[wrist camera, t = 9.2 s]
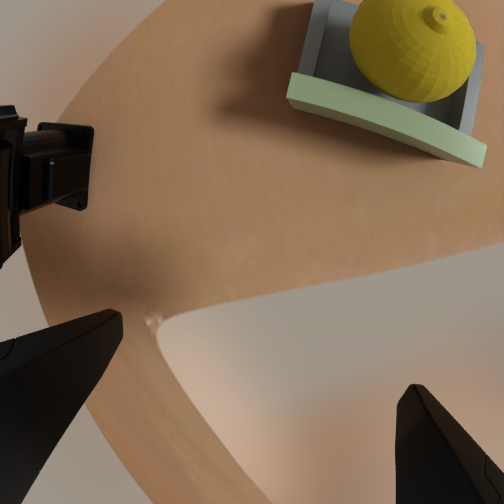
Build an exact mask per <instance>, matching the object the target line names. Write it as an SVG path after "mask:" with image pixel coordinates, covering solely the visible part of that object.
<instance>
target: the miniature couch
mask: <svg viewBox="0 0 504 504" xmlns="http://www.w3.org/2000/svg"><path fill="white" fill-rule="evenodd" d="M358 7H359V5H355V4H352V3H348V2H344V1H341V0H315V1H314V5H313V9H312V13H311V17H310V21H309V25H308V29H307V34H306V38H305V42H304V46H303V50H302V54H301V58H300V62H299V66H298V70H297V73H294V72H292V75H291V79H290V83H289V87H288V91H287V95H286V98H287V100H288V101H289V103H290V104H291V106H292V107H293V109H296V110H300V111H304V112H308V113H312V114H316V115H319V116H323V117H326V118H330V119H333V120H337V121H340V122H343V123H347V124H350V125H353V126H356V127H359V128H362V129H365V130H368V131H371V132H374V133H377V134H380V135H382V136H385V137H388V138H391V139H393V140H396V141H399V142H401V143H404V144H406V145H409V146H411V147H414V148H416V149H419V150H421V151H424V152H426V153H428V154H431V155H433V156H435V157H438V158H440V159H442V160H446V161H451V162H455V163H459V164H464V165H468V166H472V167H476V168H480V169H481V168H482V164H483V161H484V157H485V153H486V148H487V145H485V144H483V143H481V142H480V141H478V140H476V139H474V138H472V137H471V133H472V128H473V124H474V119H475V114H476V108H477V103H478V97H479V91H480V84H481V77H482V69H483V59H484V48H485V46H484V45H482V44H480V43H478V42H477V41H476V58H475V62H474V66H473V69H472V72H471V73H470V75H469V76H468V78H467V79H466V81H465V82H464V84H463V85H462V86H461V87H460V88H458V89H457V90H456V91H454V92H453V93H452V94H450V95H449V96H447V97H445V98H442V99H439V100H436V101H433V102H425V103H411V102H407V101H402V100H397V99H395V98H393V97H391V96H388V95H386V94H384V93H383V92H381V91H380V90H379V89H377V88H376V87H374V86H373V85H372V84H371V83H370V82H369V81H368V80H367V79H366V78H365V77H364V76H363V75H362V73H361V71H360V70H359V68H358V66H357V65H356V63H355V61H354V58H353V55H352V52H351V49H350V37H349V32H350V27H351V23H352V18H353V16H354V14H355V12H356V11H357V9H358Z"/></svg>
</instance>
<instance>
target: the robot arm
mask: <svg viewBox="0 0 504 504" xmlns="http://www.w3.org/2000/svg"><path fill="white" fill-rule="evenodd" d="M26 126H27V118H23V117H19V115H17V113H16V110H15V107H14V105H3V106H0V269H1V268H2V266H3V263H4V262H5V261H6V260H7V259H8V258H9V257H10V256H11V255H12V254H13V253H14V252H15V251H16V250H17V249H18V248H19V247H20V246H21V237H20V225H19V216H21V215H23V214H26V213H28V212H31V211H34V210H36V209H39V208H41V207H44V206H47V205H50V204H52V203H56V204H59V205H62V206H65V207H69V208H72V209H75V210H78V211H82V210H84V209H86V208H87V201H88V185H89V173H90V163H91V153H92V145H93V137H94V129H93V127H91V126H85V125H74V124H63V123H50V122H41V123H39V125H38V128H37V131H33V132H25V133H24V131H25V127H26ZM42 127H43V129H42ZM87 130H88V135H87ZM80 202H81V203H82V206H81V203H80ZM122 338H123V321H122V314H121V313H120V312H119V311H116V310H113V309H106V310H103V311H99V312H96V313H93V314H90V315H87V316H84V317H81V318H77V319H74V320H71V321H68V322H65V323H62V324H58V325H55V326H52V327H49V328H46V329H42V330H39V331H36V332H33V333H30V334H26V335H23V336H20V337H17V338H16V339H14V338H13V339H10V340H7V341H4V342H0V504H21V503H22V501H23V500H24V498H25V496H26V494H27V493H28V491H29V489H30V488H31V486H32V484H33V483H34V481H35V479H36V478H37V476H38V474H39V473H40V472H39V471H41V469H42V467H43V466H44V464H45V463H46V461H47V459H48V458H49V456H50V455H51V453H52V451H53V450H54V448H55V446H56V445H57V443H58V442H59V440H60V439H61V437H62V436H63V434H64V433H65V431H66V429H67V428H68V426H69V425H70V423H71V422H72V420H73V419H74V417H75V416H76V414H77V413H78V411H79V410H80V408H81V406H82V405H83V404H84V402H85V401H86V399H87V398H88V396H89V395H90V393H91V392H92V390H93V389H94V388H95V386H96V385H97V383H98V382H99V380H100V379H101V377H102V376H103V374H104V372H105V370H106V368H107V366H108V365H109V363H110V361H111V359H112V357H113V355H114V353H115V352H116V350H117V348H118V346H119V344H120V342H121V341H122ZM396 418H397V419H396V439H395V464H396V504H504V473H503V472H502V471H501V470H500V469H499V467H498V466H497V465H496V464H495V463H494V462H493V461H492V460H491V459H490V457H489V456H488V455H486V453H485V452H484V451H483V450H482V448H481V447H480V446H479V445H478V444H477V443H476V442H475V441H474V440H473V439H472V437H471V436H470V435H469V434H468V433H467V432H466V431H465V430H464V428H463V427H462V426H461V425H460V424H459V423H458V422H457V421H456V420H455V419H454V418H453V416H452V415H451V414H450V413H449V412H448V411H447V410H446V409H445V408H444V407H443V406H442V405H441V404H440V402H438V400H437V399H436V398H435V397H434V396H433V395H432V394H431V393H430V392H429V391H428V390H427V389H426V388H425V387H424V386H423V385H420V384H411V385H409V387H408V388H407V390H406V391H405V393H404V394H403V396H402V397H401V399H400V400H399V402H398V404H397V416H396Z"/></svg>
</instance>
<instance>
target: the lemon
mask: <svg viewBox="0 0 504 504" xmlns="http://www.w3.org/2000/svg"><path fill="white" fill-rule="evenodd" d="M349 37H350V49H351V52H352V55H353V58H354V61H355V63H356V65H357V66H358V68H359V70H360V71H361V73H362V75H363V76H364V77H365V78H366V79H367V80H368V81H369V82H370V83H371V84H372V85H373V86H374V87H376V88H377V89H379V90H380V91H381V92H383V93H384V94H386V95H388V96H391V97H393V98H395V99H397V100H402V101H407V102H411V103H425V102H433V101H436V100H439V99H442V98H445V97H447V96H449V95H450V94H452V93H453V92H454V91H456V90H457V89H458V88H460V87H461V86H462V85H463V84H464V82H465V81H466V79H467V78H468V76H469V75H470V73H471V72H472V69H473V66H474V62H475V58H476V41H475V37H474V34H473V30H472V28H471V26H470V24H469V22H468V20H467V18H466V17H465V15H464V14H463V13H462V11H461V10H460V9H459V7H458V6H457V5H455V4H454V3H453V2H452V1H451V0H364V1H363V2H362V3H361V4H360V6H359V7H358V9H357V11H356V12H355V14H354V16H353V18H352V23H351V27H350V32H349Z"/></svg>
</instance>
